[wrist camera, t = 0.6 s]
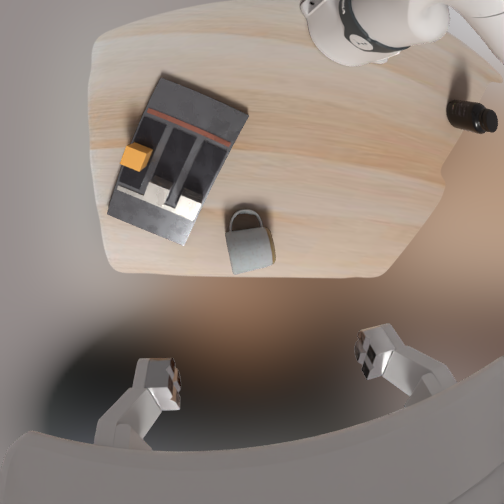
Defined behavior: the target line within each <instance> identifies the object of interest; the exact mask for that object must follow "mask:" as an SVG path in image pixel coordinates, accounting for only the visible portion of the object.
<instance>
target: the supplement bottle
mask: <svg viewBox="0 0 504 504" xmlns="http://www.w3.org/2000/svg"><path fill="white" fill-rule="evenodd" d="M447 117H448V120H449V122H450V124H451V125H452V126H453V127H455V128H459V129H463V130H467V131H471V132H475V133H479V134H483V133H485V132H486V131H487V132H495V131H496V129H497V126H498V119H497V116H496V113H495V112H494V111H493V110H490V109H486V108H485V107H484V106H483V105H482V104H480V103H476V102H469V101H461V100H452V101H451V102H450V103H449V104H448V106H447Z"/></svg>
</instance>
